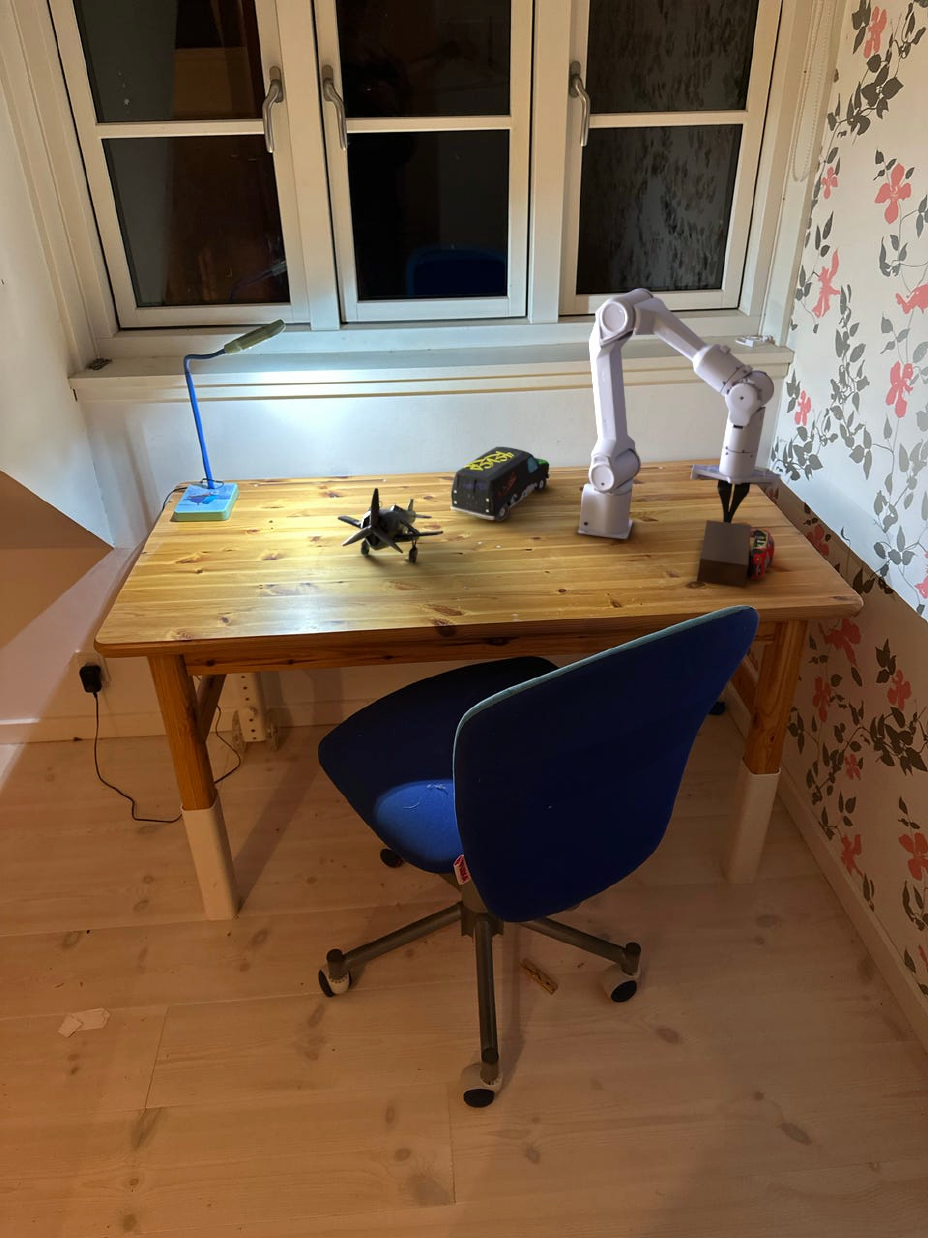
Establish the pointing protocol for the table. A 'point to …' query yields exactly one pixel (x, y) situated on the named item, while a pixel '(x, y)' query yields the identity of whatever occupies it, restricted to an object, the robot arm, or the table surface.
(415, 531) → the airplane toy
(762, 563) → the race car
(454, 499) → the toy van
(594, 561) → the table surface
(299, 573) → the table surface
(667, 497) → the table surface
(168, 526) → the table surface
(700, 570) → the step block
